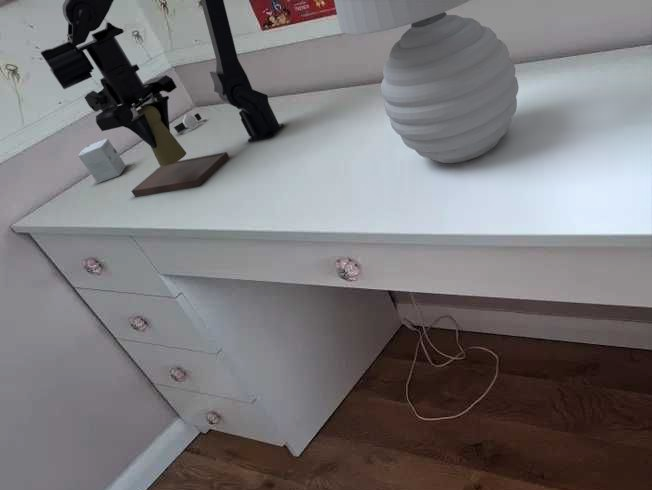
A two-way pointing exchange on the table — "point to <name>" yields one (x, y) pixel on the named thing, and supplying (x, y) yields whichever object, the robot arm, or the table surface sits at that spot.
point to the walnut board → (181, 174)
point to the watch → (188, 122)
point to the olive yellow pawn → (162, 138)
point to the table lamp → (439, 76)
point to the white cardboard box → (102, 160)
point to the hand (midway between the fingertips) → (161, 142)
